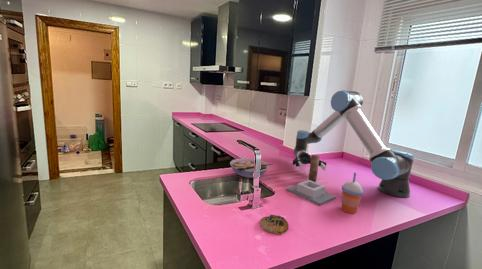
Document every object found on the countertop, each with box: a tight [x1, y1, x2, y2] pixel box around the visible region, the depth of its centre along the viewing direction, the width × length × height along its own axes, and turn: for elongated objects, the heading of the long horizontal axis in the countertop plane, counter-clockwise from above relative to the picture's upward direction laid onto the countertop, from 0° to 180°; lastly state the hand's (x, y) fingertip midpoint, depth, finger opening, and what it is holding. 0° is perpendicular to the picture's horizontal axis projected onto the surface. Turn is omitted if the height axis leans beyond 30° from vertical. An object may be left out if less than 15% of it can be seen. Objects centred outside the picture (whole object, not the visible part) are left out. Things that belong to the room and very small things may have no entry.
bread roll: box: [259, 214, 289, 235], centre depth 96 cm, size 11×11×5 cm
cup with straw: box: [341, 172, 365, 214], centre depth 113 cm, size 9×9×18 cm
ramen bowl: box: [229, 157, 273, 179], centre depth 147 cm, size 25×23×8 cm
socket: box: [285, 179, 336, 207], centre depth 128 cm, size 20×14×5 cm
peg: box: [307, 154, 320, 183], centre depth 143 cm, size 4×4×16 cm
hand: (313, 167), depth 143 cm, fingers open, 13 cm apart
